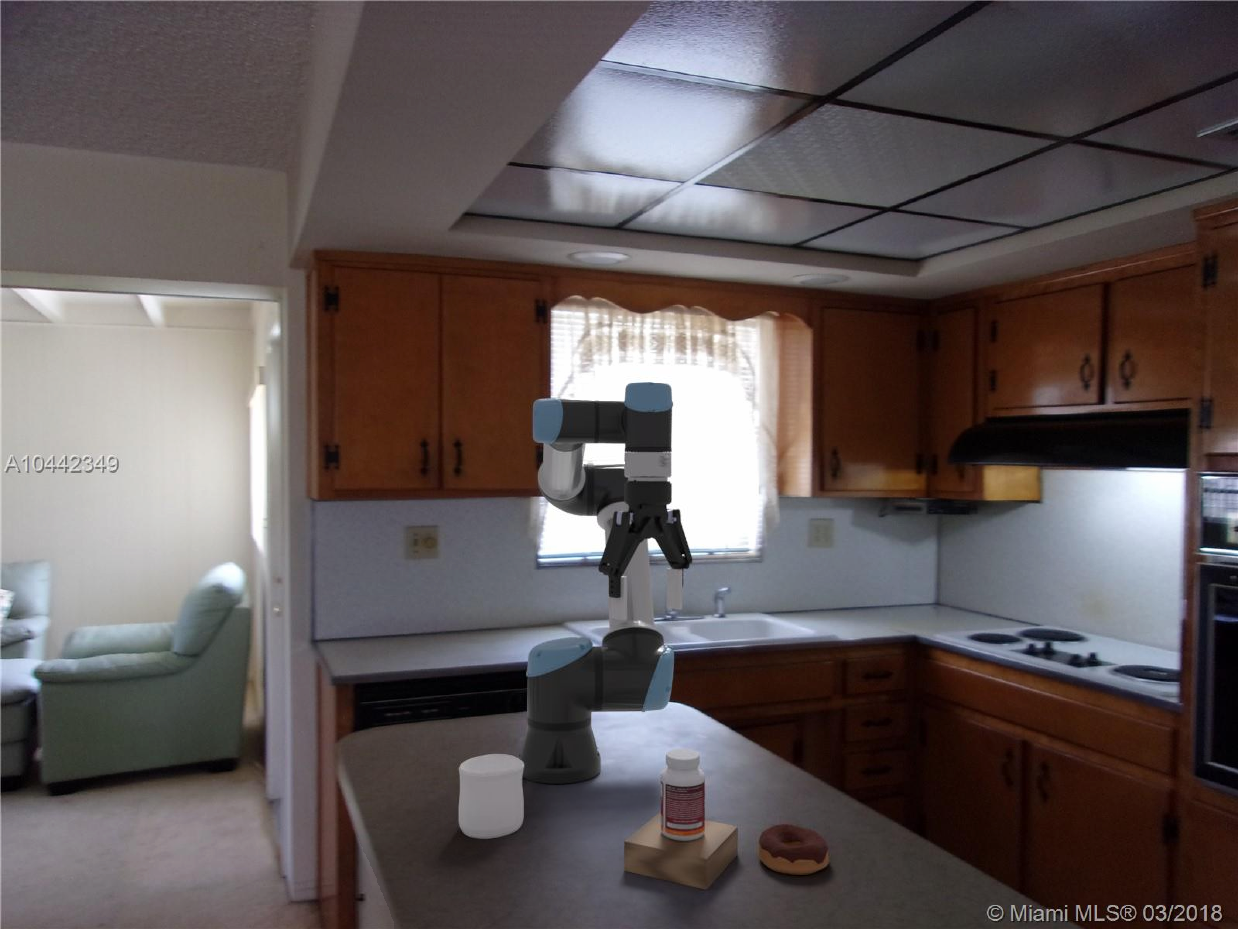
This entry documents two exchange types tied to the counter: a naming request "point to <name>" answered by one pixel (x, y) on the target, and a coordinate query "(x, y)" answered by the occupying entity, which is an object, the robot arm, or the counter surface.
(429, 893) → the counter surface
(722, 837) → the tan flat block
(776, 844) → the donut
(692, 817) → the pill bottle
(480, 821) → the cup
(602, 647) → the robot arm
